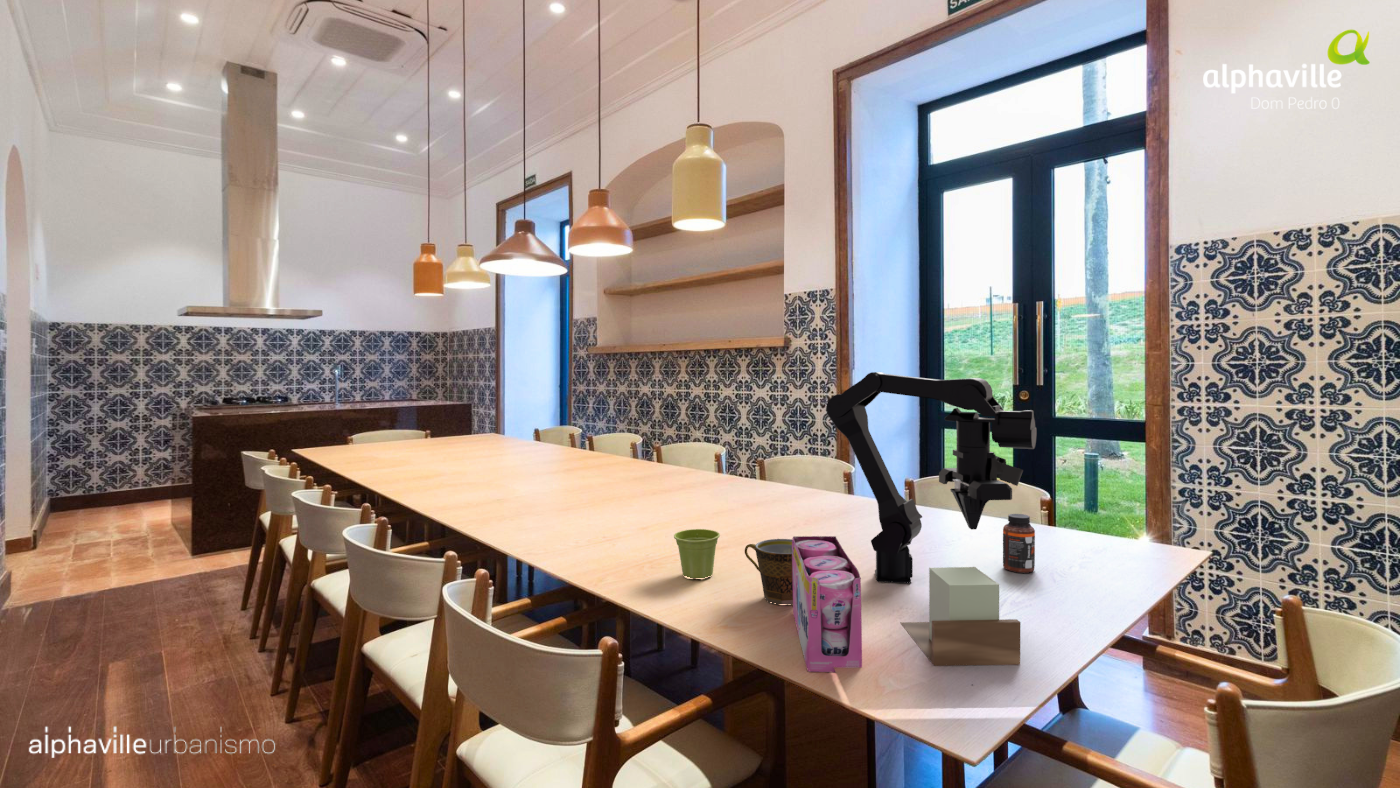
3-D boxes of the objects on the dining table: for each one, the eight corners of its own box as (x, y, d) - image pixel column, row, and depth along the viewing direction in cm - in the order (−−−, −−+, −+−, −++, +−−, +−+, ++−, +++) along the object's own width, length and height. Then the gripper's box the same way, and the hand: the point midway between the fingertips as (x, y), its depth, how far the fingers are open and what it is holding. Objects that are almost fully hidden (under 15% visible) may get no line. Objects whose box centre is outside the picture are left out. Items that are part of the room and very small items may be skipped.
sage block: (929, 638, 100) (929, 567, 99) (974, 637, 100) (975, 567, 99) (949, 662, 92) (949, 585, 91) (999, 661, 92) (999, 584, 91)
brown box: (900, 627, 106) (900, 586, 106) (973, 626, 106) (973, 585, 106) (934, 671, 91) (934, 623, 90) (1020, 670, 91) (1020, 622, 90)
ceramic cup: (819, 596, 121) (819, 543, 120) (795, 613, 112) (795, 556, 112) (758, 584, 128) (757, 534, 128) (731, 599, 120) (731, 546, 119)
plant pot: (692, 587, 127) (691, 543, 127) (665, 575, 135) (665, 533, 134) (729, 577, 133) (729, 535, 132) (702, 566, 140) (701, 526, 140)
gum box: (866, 678, 89) (865, 580, 89) (808, 678, 89) (807, 580, 89) (837, 612, 113) (836, 535, 112) (791, 612, 113) (790, 535, 113)
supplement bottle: (1038, 574, 131) (1039, 519, 131) (1007, 573, 132) (1007, 518, 132) (1029, 565, 137) (1030, 512, 137) (999, 564, 138) (999, 511, 138)
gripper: (1043, 451, 111) (1042, 541, 112) (993, 439, 130) (993, 516, 130) (978, 452, 111) (977, 542, 112) (937, 440, 130) (937, 517, 130)
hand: (972, 528), depth 121 cm, fingers closed
